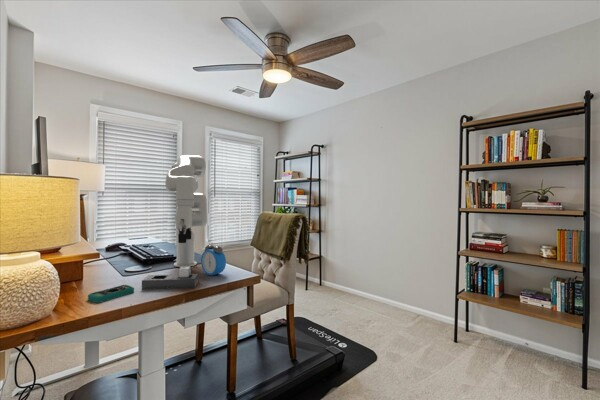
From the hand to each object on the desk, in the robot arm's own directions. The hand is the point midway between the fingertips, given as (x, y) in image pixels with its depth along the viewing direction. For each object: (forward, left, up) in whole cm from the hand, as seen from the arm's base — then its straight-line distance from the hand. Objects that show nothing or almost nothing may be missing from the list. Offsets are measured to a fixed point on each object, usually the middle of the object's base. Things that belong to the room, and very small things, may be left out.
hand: (185, 241), depth 131 cm
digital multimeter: (+11, -26, -21) cm, 35 cm away
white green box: (0, 0, -19) cm, 19 cm away
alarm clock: (-17, +10, -20) cm, 28 cm away
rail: (0, -6, -20) cm, 21 cm away
